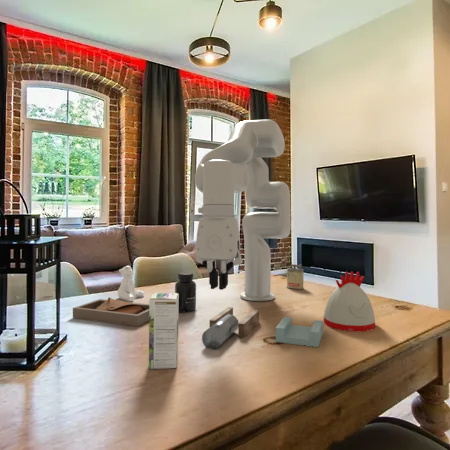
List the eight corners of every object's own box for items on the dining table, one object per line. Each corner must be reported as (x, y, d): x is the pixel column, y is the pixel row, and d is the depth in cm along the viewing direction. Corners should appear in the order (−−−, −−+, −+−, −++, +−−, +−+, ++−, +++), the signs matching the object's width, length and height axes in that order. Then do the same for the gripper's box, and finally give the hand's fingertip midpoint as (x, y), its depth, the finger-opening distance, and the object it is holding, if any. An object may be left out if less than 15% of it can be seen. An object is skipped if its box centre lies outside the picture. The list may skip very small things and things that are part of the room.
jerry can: (285, 288, 154) (285, 264, 153) (288, 286, 157) (288, 263, 156) (302, 289, 150) (302, 265, 150) (304, 288, 153) (305, 264, 153)
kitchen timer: (385, 330, 99) (386, 275, 99) (337, 333, 97) (338, 276, 96) (358, 315, 113) (359, 267, 112) (316, 317, 111) (316, 268, 110)
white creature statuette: (131, 302, 130) (131, 268, 129) (110, 300, 132) (110, 267, 132) (145, 296, 139) (145, 264, 138) (125, 294, 141) (125, 263, 141)
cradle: (284, 329, 100) (284, 316, 99) (322, 334, 96) (323, 320, 96) (275, 341, 90) (275, 327, 90) (318, 347, 87) (318, 332, 87)
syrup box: (151, 358, 80) (151, 292, 80) (179, 357, 81) (178, 291, 80) (148, 369, 74) (148, 298, 74) (178, 368, 75) (177, 298, 74)
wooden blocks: (228, 318, 110) (228, 307, 110) (259, 322, 106) (259, 310, 106) (209, 333, 97) (209, 320, 96) (244, 337, 93) (244, 324, 93)
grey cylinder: (222, 332, 99) (221, 314, 99) (239, 332, 97) (238, 314, 97) (202, 349, 87) (201, 328, 86) (221, 350, 85) (220, 329, 85)
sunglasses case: (86, 312, 114) (96, 292, 116) (103, 319, 119) (112, 299, 121) (124, 323, 103) (134, 300, 106) (141, 330, 108) (150, 308, 111)
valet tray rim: (99, 308, 122) (99, 299, 121) (160, 315, 113) (160, 305, 113) (72, 317, 110) (72, 308, 110) (137, 326, 102) (137, 315, 102)
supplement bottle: (192, 313, 115) (192, 275, 115) (171, 312, 117) (171, 274, 116) (198, 307, 122) (198, 271, 121) (178, 306, 123) (178, 271, 123)
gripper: (182, 212, 88) (182, 288, 89) (244, 212, 82) (244, 294, 83) (195, 212, 95) (196, 283, 96) (254, 212, 89) (254, 287, 90)
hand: (218, 287), depth 89 cm, fingers closed
